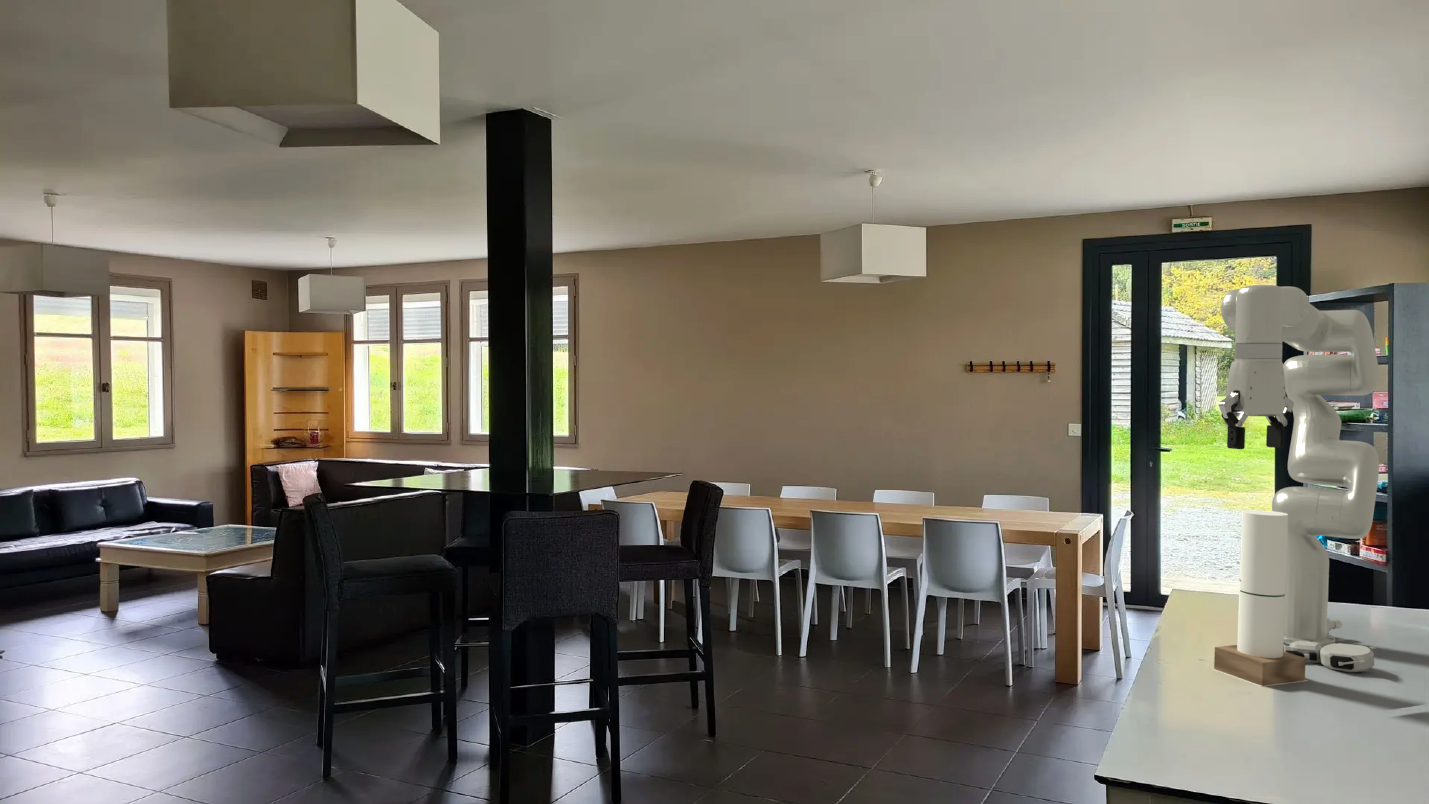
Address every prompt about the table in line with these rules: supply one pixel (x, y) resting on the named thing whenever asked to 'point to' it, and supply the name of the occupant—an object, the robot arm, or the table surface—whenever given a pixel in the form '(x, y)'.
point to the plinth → (1259, 666)
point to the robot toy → (1334, 655)
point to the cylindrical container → (1262, 583)
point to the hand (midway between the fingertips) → (1255, 448)
